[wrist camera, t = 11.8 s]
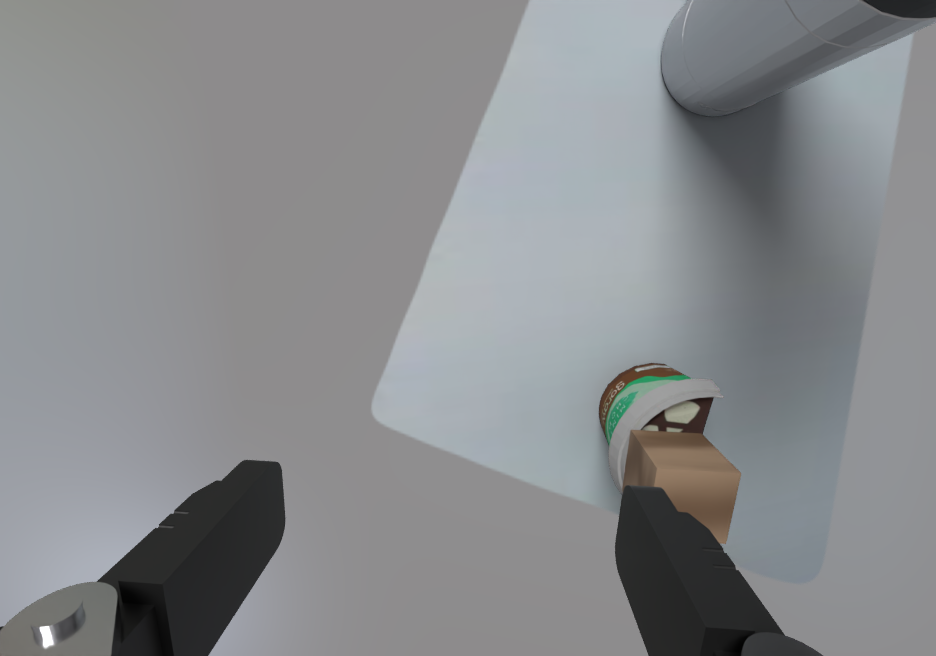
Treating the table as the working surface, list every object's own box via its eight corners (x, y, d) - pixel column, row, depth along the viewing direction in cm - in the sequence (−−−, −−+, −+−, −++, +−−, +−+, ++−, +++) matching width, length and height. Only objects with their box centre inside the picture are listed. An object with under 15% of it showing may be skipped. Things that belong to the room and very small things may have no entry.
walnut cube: (630, 429, 31) (657, 468, 26) (701, 433, 31) (741, 473, 26) (621, 490, 32) (645, 538, 27) (690, 494, 32) (725, 543, 27)
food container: (601, 338, 40) (638, 376, 30) (668, 348, 40) (726, 389, 30) (574, 457, 43) (599, 526, 33) (636, 466, 43) (679, 538, 33)
